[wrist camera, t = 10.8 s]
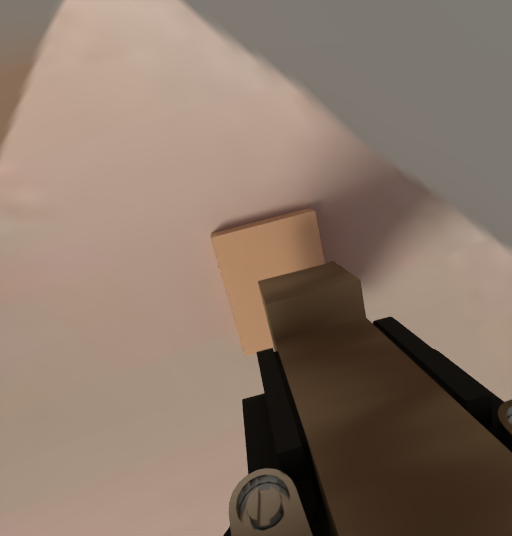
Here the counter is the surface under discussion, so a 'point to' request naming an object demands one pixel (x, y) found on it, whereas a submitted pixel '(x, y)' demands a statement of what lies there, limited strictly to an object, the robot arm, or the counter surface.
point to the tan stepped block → (381, 420)
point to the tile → (263, 266)
